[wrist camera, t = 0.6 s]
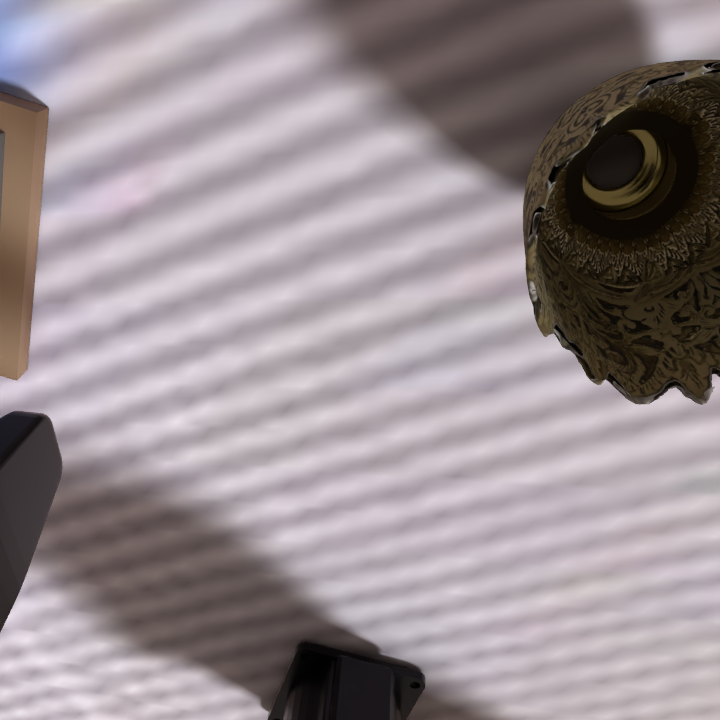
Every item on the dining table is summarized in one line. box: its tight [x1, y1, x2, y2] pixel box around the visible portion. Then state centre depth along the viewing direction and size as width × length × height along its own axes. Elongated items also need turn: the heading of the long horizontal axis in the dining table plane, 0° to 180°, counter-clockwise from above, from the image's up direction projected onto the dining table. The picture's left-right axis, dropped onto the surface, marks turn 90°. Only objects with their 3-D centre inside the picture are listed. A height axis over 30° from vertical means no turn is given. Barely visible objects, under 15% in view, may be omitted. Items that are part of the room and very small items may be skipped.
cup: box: [523, 60, 720, 405], centre depth 18 cm, size 8×7×8 cm
